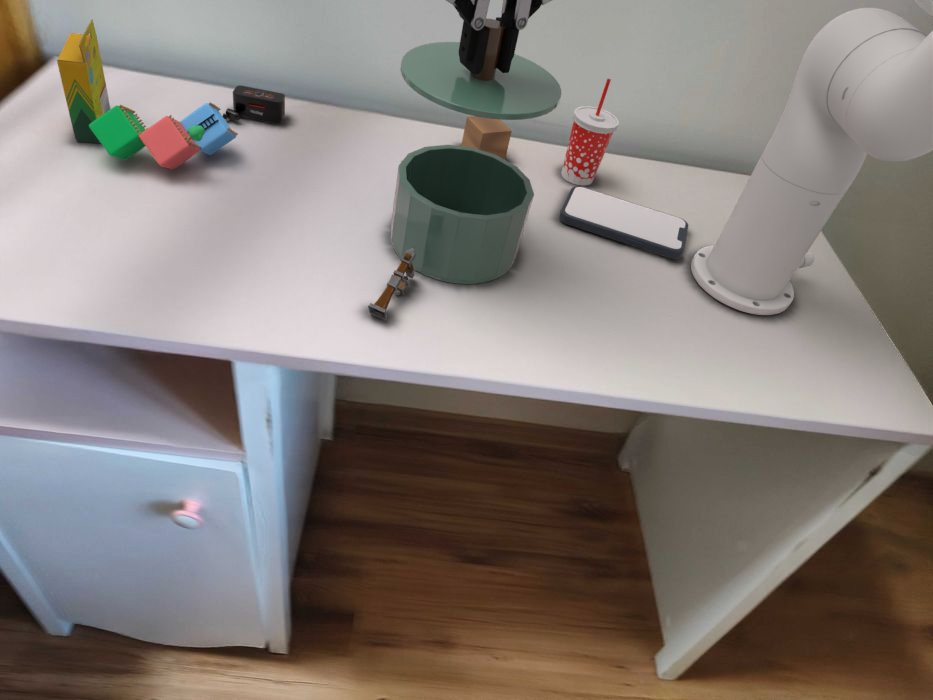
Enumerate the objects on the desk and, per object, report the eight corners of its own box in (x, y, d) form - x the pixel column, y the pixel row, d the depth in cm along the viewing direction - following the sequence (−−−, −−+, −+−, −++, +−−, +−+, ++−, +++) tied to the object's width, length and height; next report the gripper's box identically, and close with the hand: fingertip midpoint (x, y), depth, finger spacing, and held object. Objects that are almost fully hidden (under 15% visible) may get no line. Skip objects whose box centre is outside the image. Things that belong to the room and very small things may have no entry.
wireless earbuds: (232, 106, 93) (231, 83, 91) (285, 117, 94) (285, 94, 92) (222, 122, 90) (220, 98, 88) (277, 132, 91) (277, 109, 88)
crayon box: (86, 112, 86) (66, 14, 78) (112, 114, 86) (95, 18, 79) (74, 142, 81) (51, 41, 73) (101, 144, 81) (82, 44, 73)
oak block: (488, 144, 99) (495, 114, 96) (504, 161, 96) (512, 130, 93) (460, 147, 97) (466, 116, 94) (476, 164, 94) (482, 133, 91)
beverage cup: (590, 193, 94) (625, 95, 85) (549, 177, 96) (579, 78, 86) (603, 176, 99) (637, 80, 89) (564, 160, 100) (593, 64, 90)
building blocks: (159, 192, 85) (239, 136, 84) (130, 186, 77) (218, 124, 76) (119, 136, 83) (200, 79, 83) (85, 124, 75) (174, 61, 75)
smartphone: (555, 224, 88) (678, 264, 86) (559, 213, 87) (683, 253, 84) (570, 193, 94) (685, 229, 92) (573, 182, 93) (690, 219, 91)
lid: (507, 51, 75) (520, -8, 71) (589, 119, 66) (608, 57, 62) (374, 55, 68) (379, -10, 64) (445, 132, 59) (456, 63, 55)
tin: (477, 201, 88) (491, 140, 82) (538, 272, 79) (558, 209, 73) (370, 216, 81) (377, 150, 75) (424, 294, 73) (436, 227, 67)
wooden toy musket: (423, 270, 74) (421, 247, 70) (388, 331, 71) (384, 311, 67) (408, 264, 74) (405, 241, 70) (372, 325, 71) (367, 304, 67)
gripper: (459, -170, 47) (424, 89, 60) (638, -147, 55) (573, 81, 67) (413, -194, 52) (390, 53, 64) (584, -169, 59) (533, 49, 72)
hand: (484, 65), depth 66 cm, fingers closed on lid, 2 cm apart
